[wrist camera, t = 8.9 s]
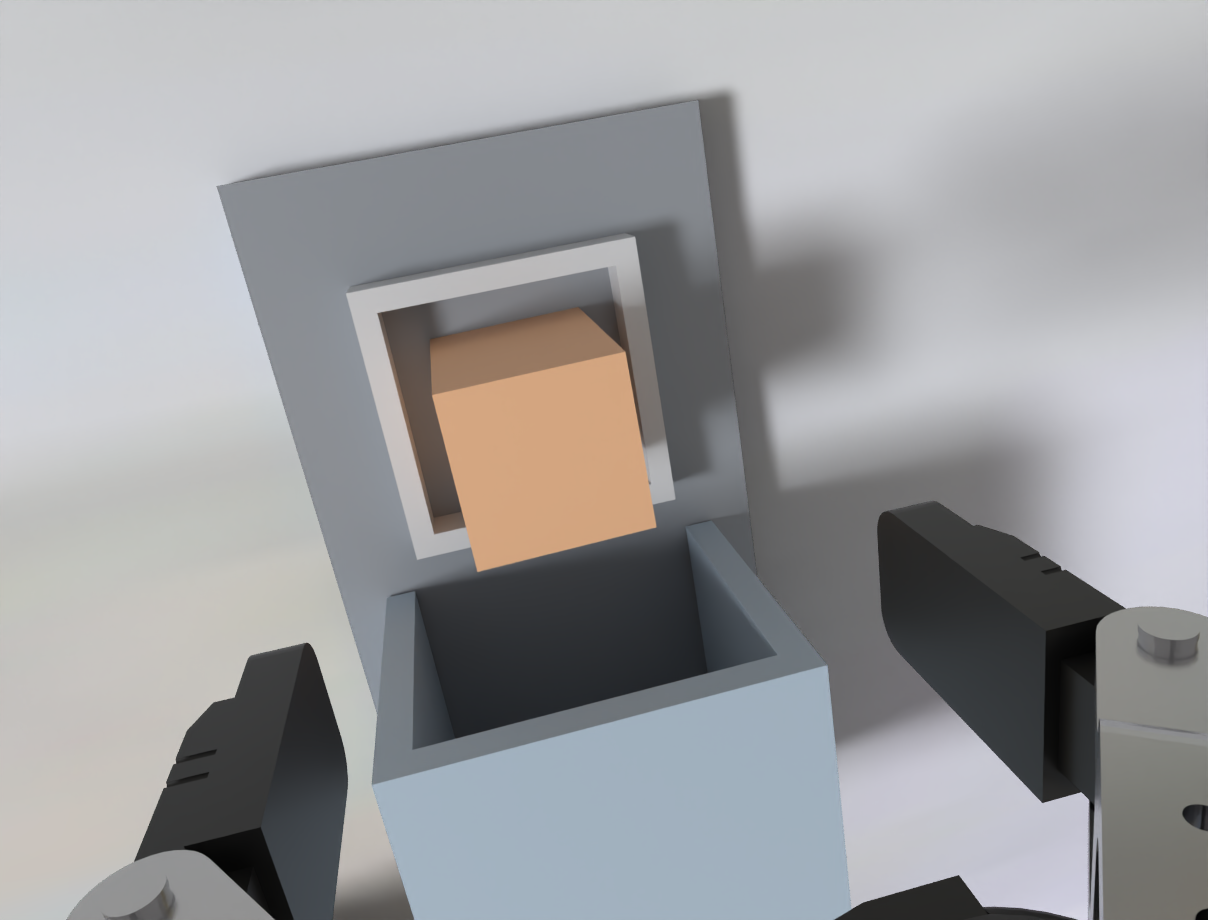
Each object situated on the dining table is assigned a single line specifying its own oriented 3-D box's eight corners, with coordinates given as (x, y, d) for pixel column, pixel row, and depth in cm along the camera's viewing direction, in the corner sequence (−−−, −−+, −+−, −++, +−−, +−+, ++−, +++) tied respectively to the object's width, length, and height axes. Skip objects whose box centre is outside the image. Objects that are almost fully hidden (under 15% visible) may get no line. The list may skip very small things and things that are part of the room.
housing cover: (386, 597, 26) (371, 784, 18) (711, 520, 27) (827, 665, 19) (468, 882, 29) (484, 1140, 21) (751, 803, 30) (862, 1021, 23)
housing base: (225, 185, 22) (205, 187, 20) (687, 102, 24) (712, 97, 22) (437, 891, 30) (438, 944, 28) (776, 796, 32) (800, 840, 30)
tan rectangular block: (429, 339, 24) (431, 395, 18) (578, 307, 24) (625, 351, 18) (465, 479, 25) (477, 572, 19) (605, 446, 25) (656, 527, 20)
